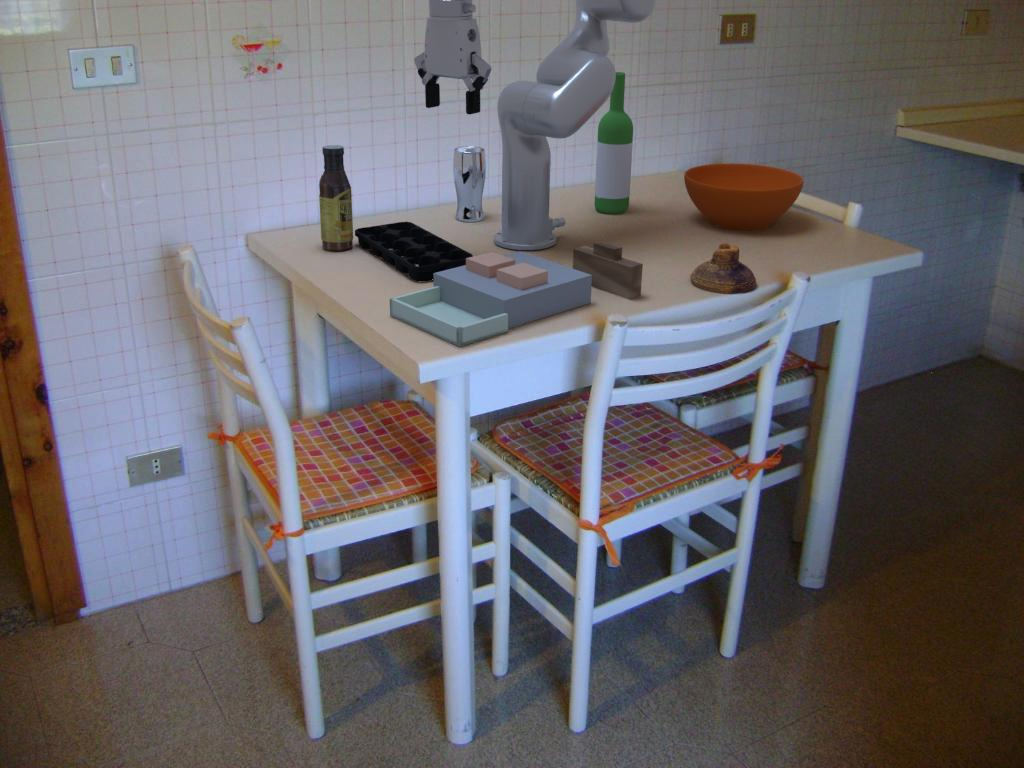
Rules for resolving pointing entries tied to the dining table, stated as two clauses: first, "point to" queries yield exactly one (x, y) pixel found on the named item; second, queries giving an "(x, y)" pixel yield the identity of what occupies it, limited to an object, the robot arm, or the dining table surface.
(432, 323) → the tray
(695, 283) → the bell
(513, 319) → the board
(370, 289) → the dining table surface
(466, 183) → the beer glass
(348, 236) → the sauce bottle
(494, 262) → the tile
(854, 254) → the dining table surface
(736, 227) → the bowl
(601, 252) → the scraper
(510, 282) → the tile
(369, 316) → the dining table surface
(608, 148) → the wine bottle
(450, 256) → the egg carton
